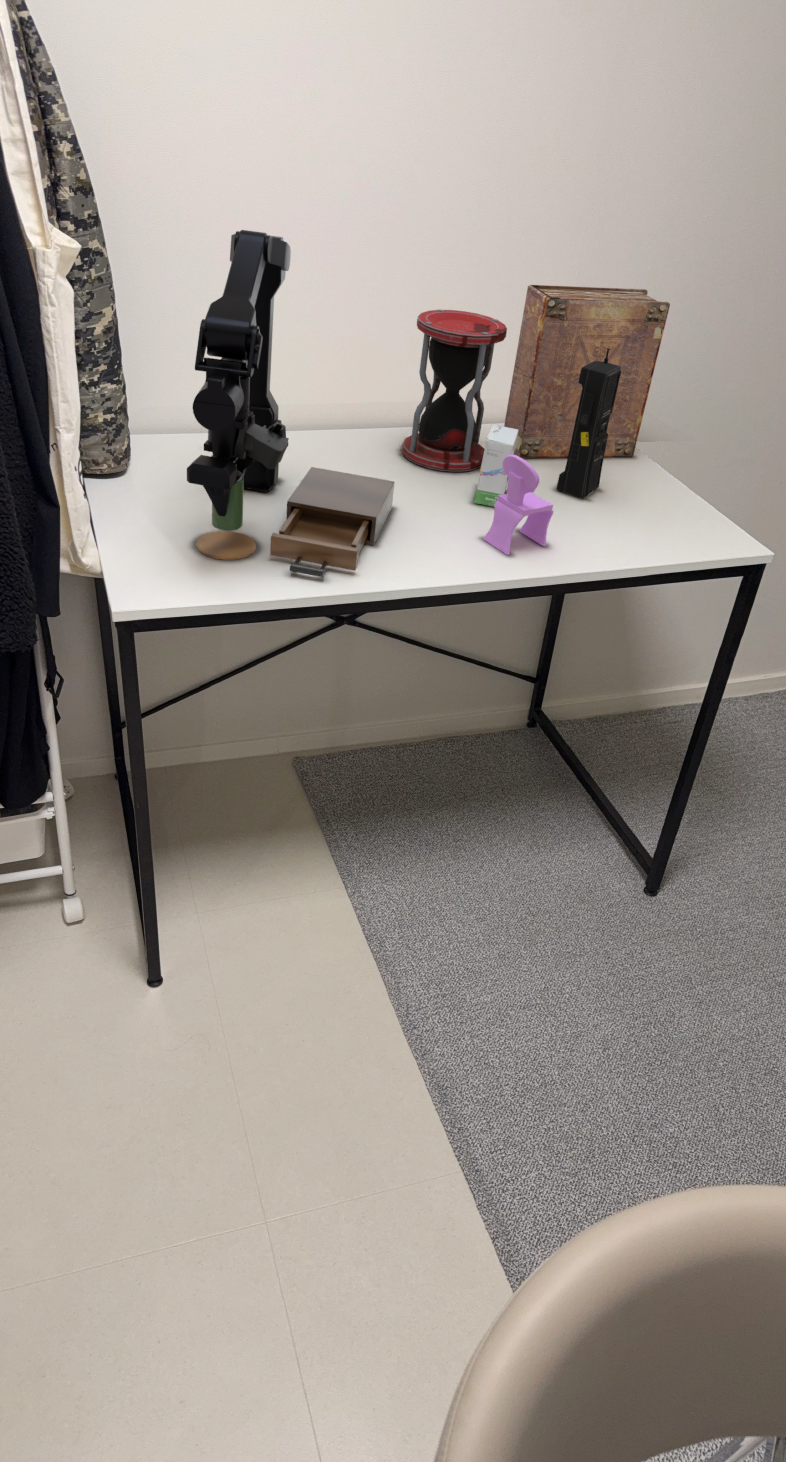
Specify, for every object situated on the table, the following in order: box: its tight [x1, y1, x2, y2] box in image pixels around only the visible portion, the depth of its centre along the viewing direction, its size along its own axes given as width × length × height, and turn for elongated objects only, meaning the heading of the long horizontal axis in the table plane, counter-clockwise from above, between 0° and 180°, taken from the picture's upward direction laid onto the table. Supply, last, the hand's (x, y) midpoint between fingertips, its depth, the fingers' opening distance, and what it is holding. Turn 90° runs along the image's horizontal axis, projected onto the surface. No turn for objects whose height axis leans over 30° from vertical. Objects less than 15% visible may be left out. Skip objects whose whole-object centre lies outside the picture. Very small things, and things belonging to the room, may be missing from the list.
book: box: [503, 284, 671, 459], centre depth 202 cm, size 25×9×30 cm, turn 107°
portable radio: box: [556, 348, 621, 500], centre depth 186 cm, size 8×6×25 cm
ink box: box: [473, 424, 519, 508], centre depth 183 cm, size 9×5×12 cm, turn 168°
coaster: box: [196, 530, 257, 561], centre depth 160 cm, size 9×9×1 cm
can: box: [211, 470, 245, 532], centre depth 155 cm, size 5×5×8 cm
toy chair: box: [483, 454, 554, 556], centre depth 168 cm, size 8×9×15 cm
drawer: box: [269, 507, 372, 578], centre depth 160 cm, size 18×13×3 cm
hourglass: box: [401, 308, 508, 473], centre depth 193 cm, size 16×16×25 cm
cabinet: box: [285, 466, 395, 546], centre depth 171 cm, size 15×14×5 cm
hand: (227, 509), depth 156 cm, fingers closed on can, 4 cm apart
